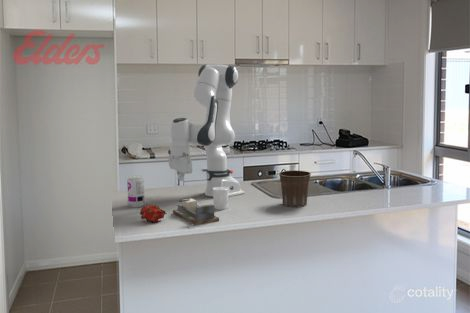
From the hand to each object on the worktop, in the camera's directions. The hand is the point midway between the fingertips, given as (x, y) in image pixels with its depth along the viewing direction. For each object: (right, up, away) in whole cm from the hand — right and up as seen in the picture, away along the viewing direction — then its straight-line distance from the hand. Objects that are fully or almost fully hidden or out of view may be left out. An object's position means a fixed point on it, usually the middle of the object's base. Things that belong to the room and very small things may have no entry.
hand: (180, 180), depth 229 cm
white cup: (+20, -14, +5) cm, 25 cm away
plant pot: (+57, -13, +11) cm, 59 cm away
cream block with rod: (+4, -14, -6) cm, 16 cm away
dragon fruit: (-10, -18, -16) cm, 26 cm away
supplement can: (-24, -14, +12) cm, 30 cm away
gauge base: (+8, -17, -10) cm, 21 cm away
